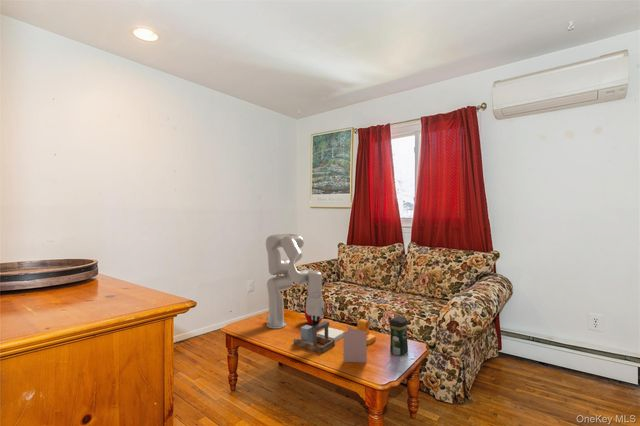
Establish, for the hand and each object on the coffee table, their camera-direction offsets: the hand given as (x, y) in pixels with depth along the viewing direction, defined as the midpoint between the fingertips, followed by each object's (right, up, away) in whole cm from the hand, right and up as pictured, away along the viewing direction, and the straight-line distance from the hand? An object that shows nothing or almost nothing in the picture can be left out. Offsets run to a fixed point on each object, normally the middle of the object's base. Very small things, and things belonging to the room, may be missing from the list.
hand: (315, 327), depth 178 cm
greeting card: (+19, -11, -19) cm, 29 cm away
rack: (-1, -10, +1) cm, 11 cm away
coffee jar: (+44, -10, -10) cm, 46 cm away
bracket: (+29, -10, +5) cm, 31 cm away
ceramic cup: (-2, -10, +34) cm, 35 cm away
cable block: (-5, -11, +4) cm, 12 cm away
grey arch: (+3, -7, -2) cm, 8 cm away
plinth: (+9, -10, +12) cm, 18 cm away
